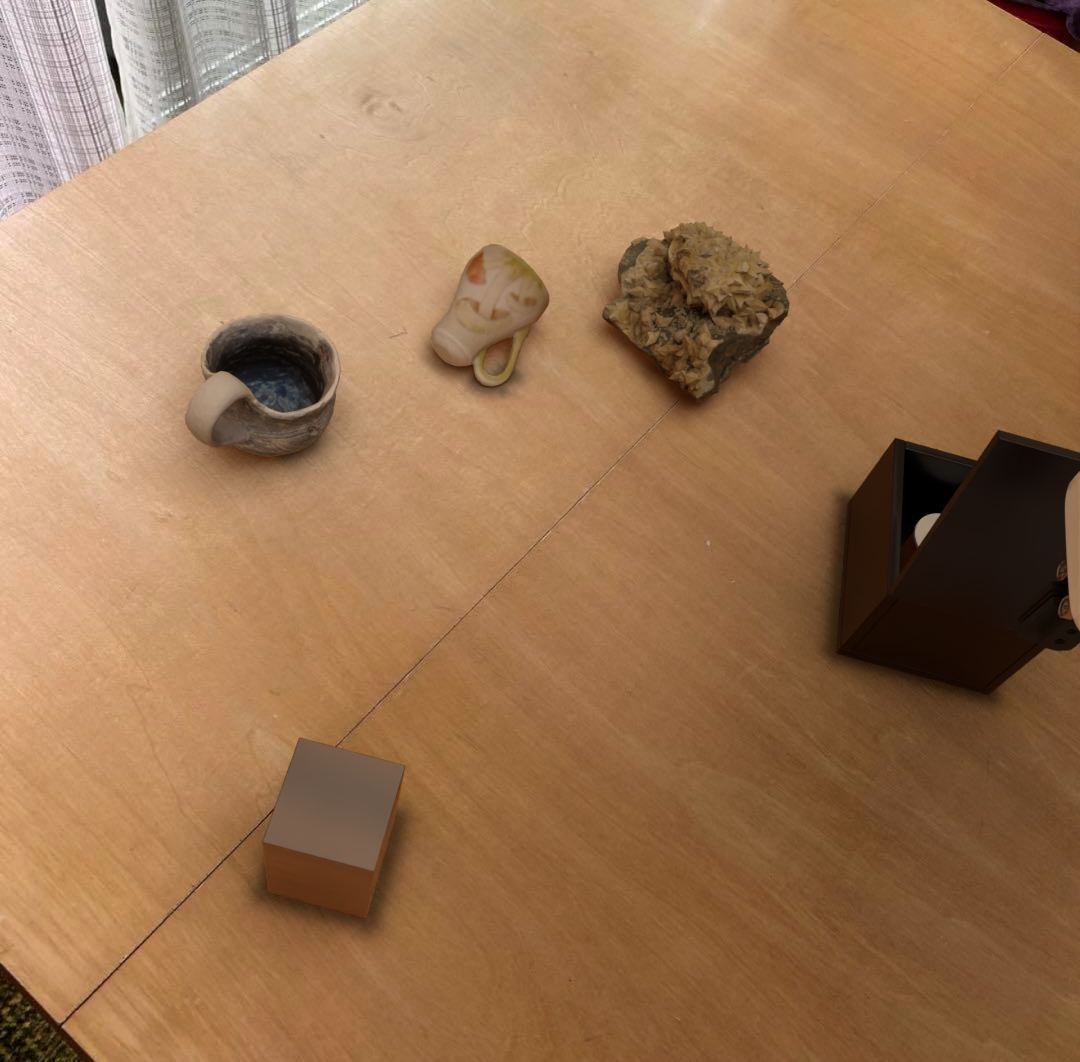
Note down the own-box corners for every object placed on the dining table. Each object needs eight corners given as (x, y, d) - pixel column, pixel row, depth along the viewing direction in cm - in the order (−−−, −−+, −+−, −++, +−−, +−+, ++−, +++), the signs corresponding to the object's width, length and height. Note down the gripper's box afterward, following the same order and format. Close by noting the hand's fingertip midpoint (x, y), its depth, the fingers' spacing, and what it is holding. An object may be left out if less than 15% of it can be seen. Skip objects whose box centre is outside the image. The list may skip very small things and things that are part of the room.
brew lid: (997, 428, 65) (999, 438, 65) (1192, 483, 66) (1195, 493, 65) (889, 587, 76) (890, 596, 75) (1057, 633, 76) (1059, 643, 76)
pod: (951, 603, 87) (977, 577, 83) (890, 586, 86) (914, 559, 83) (952, 550, 89) (977, 523, 86) (893, 533, 89) (915, 506, 86)
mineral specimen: (557, 321, 96) (581, 232, 88) (654, 251, 102) (685, 162, 94) (690, 429, 92) (728, 347, 84) (782, 350, 98) (826, 267, 90)
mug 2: (400, 355, 91) (429, 233, 87) (477, 344, 99) (508, 230, 95) (470, 395, 88) (504, 270, 84) (544, 380, 96) (579, 265, 91)
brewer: (847, 503, 91) (895, 436, 84) (988, 542, 91) (1047, 479, 84) (836, 653, 83) (887, 595, 76) (989, 695, 84) (1054, 641, 76)
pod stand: (366, 918, 68) (374, 871, 60) (267, 892, 68) (262, 842, 60) (394, 822, 72) (405, 765, 63) (300, 797, 71) (299, 736, 63)
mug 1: (360, 403, 88) (366, 313, 80) (284, 529, 81) (281, 445, 73) (244, 356, 88) (237, 262, 80) (159, 477, 82) (142, 388, 73)
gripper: (1167, 303, 55) (978, 510, 70) (1200, 566, 47) (979, 734, 62) (1317, 346, 55) (1096, 543, 70) (1376, 614, 47) (1111, 770, 62)
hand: (1041, 632), depth 66 cm, fingers closed
